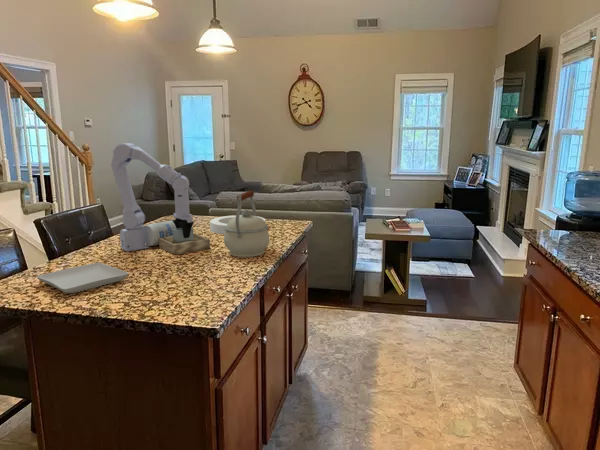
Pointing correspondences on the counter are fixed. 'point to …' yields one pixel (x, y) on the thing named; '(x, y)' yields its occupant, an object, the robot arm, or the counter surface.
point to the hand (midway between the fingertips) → (183, 236)
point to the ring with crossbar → (222, 223)
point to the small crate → (181, 235)
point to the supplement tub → (158, 232)
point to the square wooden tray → (184, 244)
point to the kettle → (246, 231)
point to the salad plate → (83, 277)
